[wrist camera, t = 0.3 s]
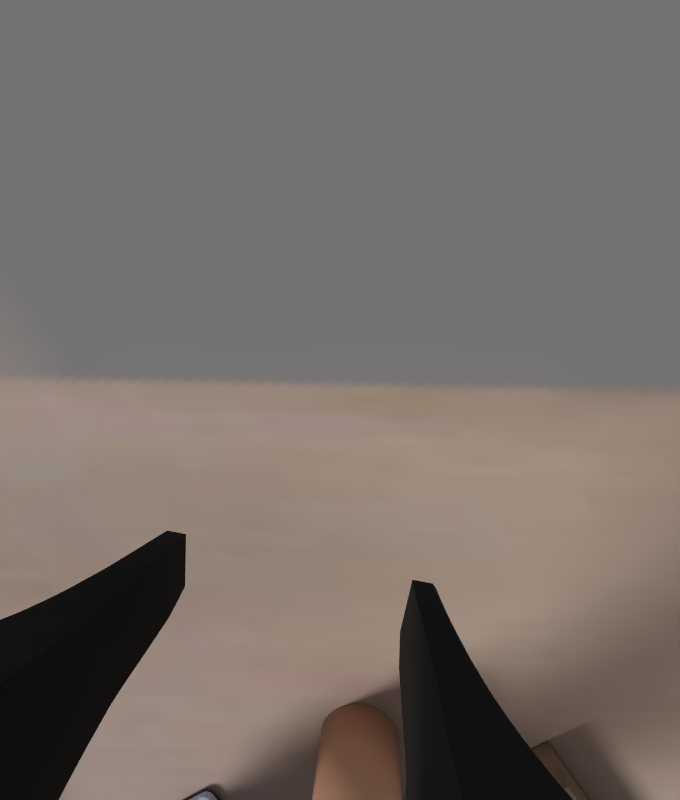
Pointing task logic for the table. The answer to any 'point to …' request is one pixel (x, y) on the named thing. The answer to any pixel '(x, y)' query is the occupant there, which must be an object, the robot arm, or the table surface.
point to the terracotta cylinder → (358, 756)
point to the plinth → (559, 771)
